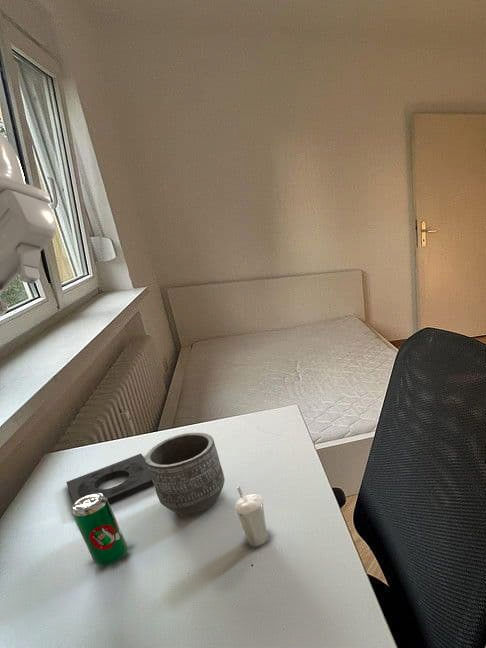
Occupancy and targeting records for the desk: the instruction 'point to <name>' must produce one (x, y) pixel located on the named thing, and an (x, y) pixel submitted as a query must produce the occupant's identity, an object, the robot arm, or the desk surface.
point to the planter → (186, 473)
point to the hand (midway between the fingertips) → (14, 297)
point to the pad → (128, 467)
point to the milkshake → (252, 518)
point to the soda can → (99, 529)
